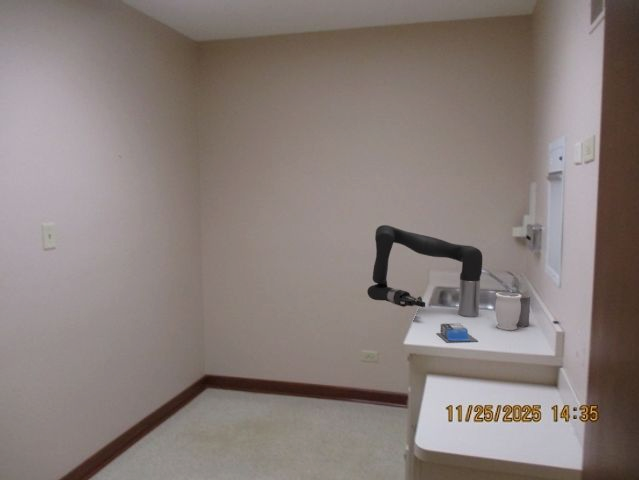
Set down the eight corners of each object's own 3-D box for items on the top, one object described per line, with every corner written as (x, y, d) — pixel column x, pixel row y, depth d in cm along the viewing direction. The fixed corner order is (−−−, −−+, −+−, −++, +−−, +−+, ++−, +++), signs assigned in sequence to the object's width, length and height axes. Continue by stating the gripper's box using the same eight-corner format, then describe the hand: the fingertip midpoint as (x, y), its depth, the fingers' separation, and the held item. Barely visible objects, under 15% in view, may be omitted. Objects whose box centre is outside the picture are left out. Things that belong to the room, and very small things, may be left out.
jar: (506, 332, 202) (507, 297, 200) (489, 325, 211) (490, 292, 209) (525, 329, 206) (527, 295, 204) (507, 323, 215) (509, 291, 213)
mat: (436, 334, 199) (436, 333, 199) (466, 333, 200) (466, 332, 200) (446, 342, 187) (446, 341, 187) (478, 341, 189) (478, 340, 189)
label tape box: (460, 323, 200) (471, 331, 188) (460, 332, 201) (471, 341, 188) (440, 323, 200) (449, 331, 188) (440, 332, 200) (449, 341, 188)
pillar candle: (506, 320, 220) (507, 288, 219) (529, 322, 216) (530, 290, 215) (505, 325, 212) (506, 293, 210) (528, 328, 208) (530, 295, 206)
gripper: (388, 291, 225) (413, 298, 210) (409, 288, 232) (434, 295, 217) (388, 306, 226) (412, 314, 211) (408, 303, 233) (434, 311, 218)
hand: (424, 304), depth 214 cm, fingers closed
